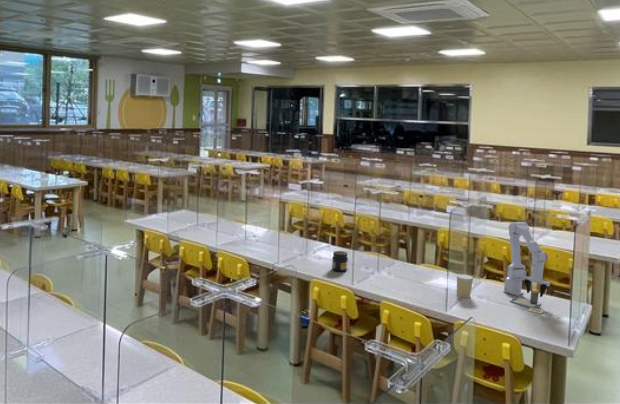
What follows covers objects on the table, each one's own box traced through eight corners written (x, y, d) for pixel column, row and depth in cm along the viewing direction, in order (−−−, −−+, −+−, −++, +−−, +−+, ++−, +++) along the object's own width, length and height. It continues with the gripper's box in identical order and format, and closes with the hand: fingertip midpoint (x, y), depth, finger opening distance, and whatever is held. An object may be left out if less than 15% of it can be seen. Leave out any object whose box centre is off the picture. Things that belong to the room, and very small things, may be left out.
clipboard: (509, 301, 308) (510, 299, 307) (517, 297, 315) (517, 295, 314) (533, 308, 298) (533, 306, 298) (540, 304, 305) (541, 302, 305)
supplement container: (350, 271, 353) (351, 254, 351) (337, 273, 348) (338, 255, 346) (341, 266, 362) (342, 250, 360) (328, 268, 357) (329, 251, 355)
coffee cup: (468, 293, 319) (470, 274, 317) (473, 298, 310) (475, 279, 308) (453, 292, 319) (454, 274, 317) (457, 298, 310) (459, 279, 308)
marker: (528, 303, 305) (530, 290, 303) (531, 301, 307) (533, 288, 306) (535, 305, 302) (537, 291, 300) (538, 303, 305) (540, 290, 303)
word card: (528, 310, 295) (528, 309, 295) (530, 307, 299) (530, 307, 299) (541, 313, 291) (541, 313, 291) (543, 311, 295) (543, 310, 295)
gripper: (522, 270, 303) (519, 292, 306) (547, 277, 293) (544, 299, 296) (527, 268, 308) (524, 289, 311) (552, 274, 298) (549, 296, 301)
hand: (534, 294), depth 304 cm, fingers open, 7 cm apart
